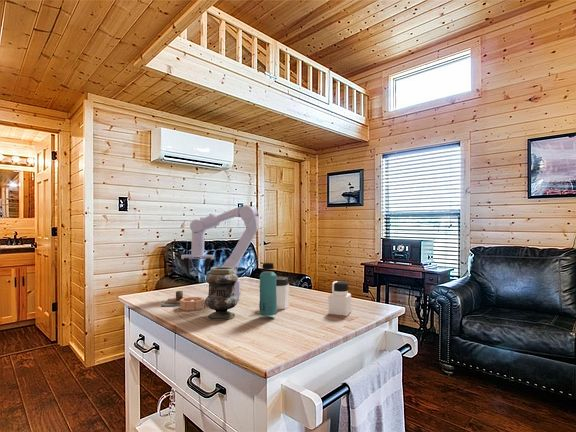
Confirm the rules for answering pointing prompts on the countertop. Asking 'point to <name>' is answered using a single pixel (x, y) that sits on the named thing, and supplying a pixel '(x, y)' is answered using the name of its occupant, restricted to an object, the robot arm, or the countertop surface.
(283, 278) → the jar
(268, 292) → the beverage bottle
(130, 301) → the countertop surface
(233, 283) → the apothecary jar
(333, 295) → the medicine bottle
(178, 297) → the lid
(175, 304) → the mat
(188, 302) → the bowl
